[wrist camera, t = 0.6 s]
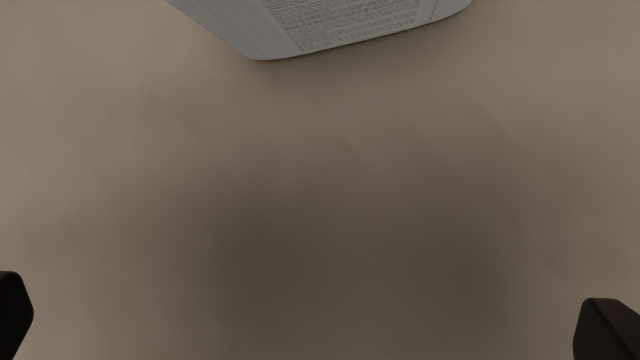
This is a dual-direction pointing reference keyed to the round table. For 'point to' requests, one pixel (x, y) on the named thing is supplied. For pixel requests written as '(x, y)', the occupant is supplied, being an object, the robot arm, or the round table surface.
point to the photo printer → (309, 22)
